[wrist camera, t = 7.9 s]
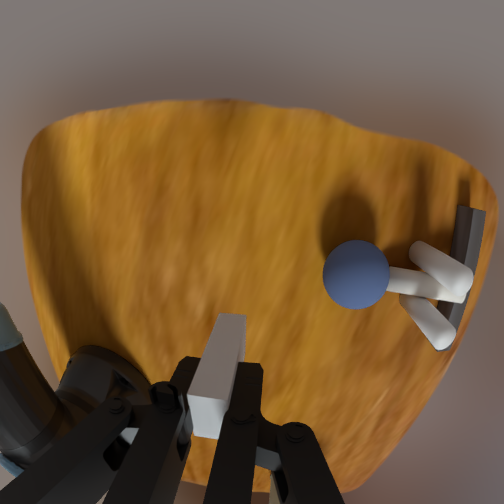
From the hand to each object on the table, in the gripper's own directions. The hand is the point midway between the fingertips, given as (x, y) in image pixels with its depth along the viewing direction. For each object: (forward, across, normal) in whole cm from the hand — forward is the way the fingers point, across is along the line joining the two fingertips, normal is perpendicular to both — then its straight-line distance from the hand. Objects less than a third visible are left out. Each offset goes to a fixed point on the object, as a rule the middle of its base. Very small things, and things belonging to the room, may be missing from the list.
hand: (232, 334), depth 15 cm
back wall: (+11, -23, 0) cm, 25 cm away
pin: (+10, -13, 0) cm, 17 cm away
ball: (+9, -9, -1) cm, 13 cm away
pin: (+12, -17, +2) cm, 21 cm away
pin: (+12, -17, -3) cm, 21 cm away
